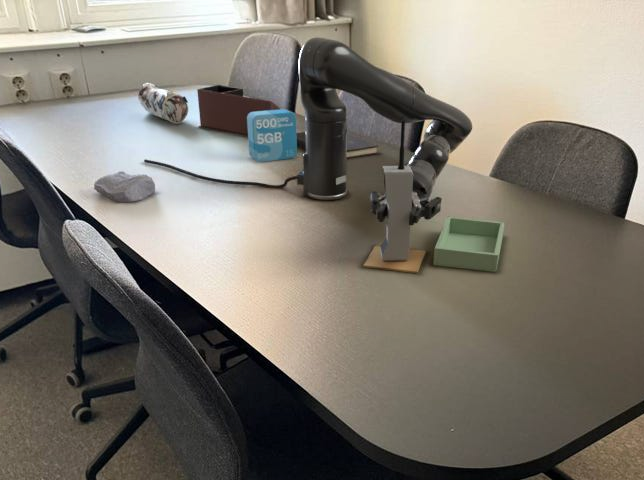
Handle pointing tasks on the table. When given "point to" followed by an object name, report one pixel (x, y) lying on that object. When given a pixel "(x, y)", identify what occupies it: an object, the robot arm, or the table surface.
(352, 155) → the hardcover book
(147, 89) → the pencil case
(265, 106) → the desk organizer
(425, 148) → the robot arm
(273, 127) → the data package
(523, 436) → the table surface
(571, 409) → the table surface
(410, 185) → the vintage mobile phone
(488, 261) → the tray
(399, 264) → the cork pad
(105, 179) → the stone block
